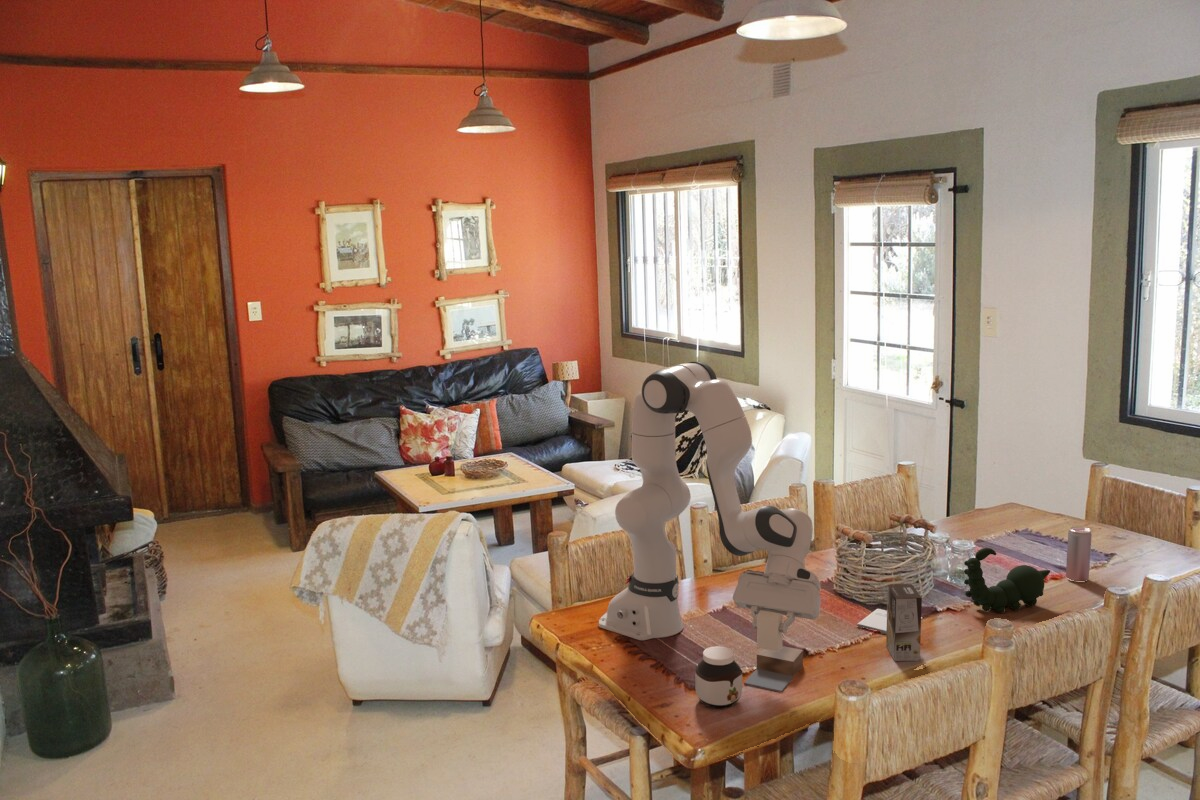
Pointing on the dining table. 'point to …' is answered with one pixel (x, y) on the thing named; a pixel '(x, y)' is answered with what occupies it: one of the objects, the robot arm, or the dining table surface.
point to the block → (769, 630)
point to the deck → (781, 660)
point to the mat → (768, 680)
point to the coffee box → (903, 622)
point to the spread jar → (718, 678)
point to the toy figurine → (1003, 585)
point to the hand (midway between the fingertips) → (768, 629)
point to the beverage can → (1078, 553)
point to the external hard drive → (875, 621)
